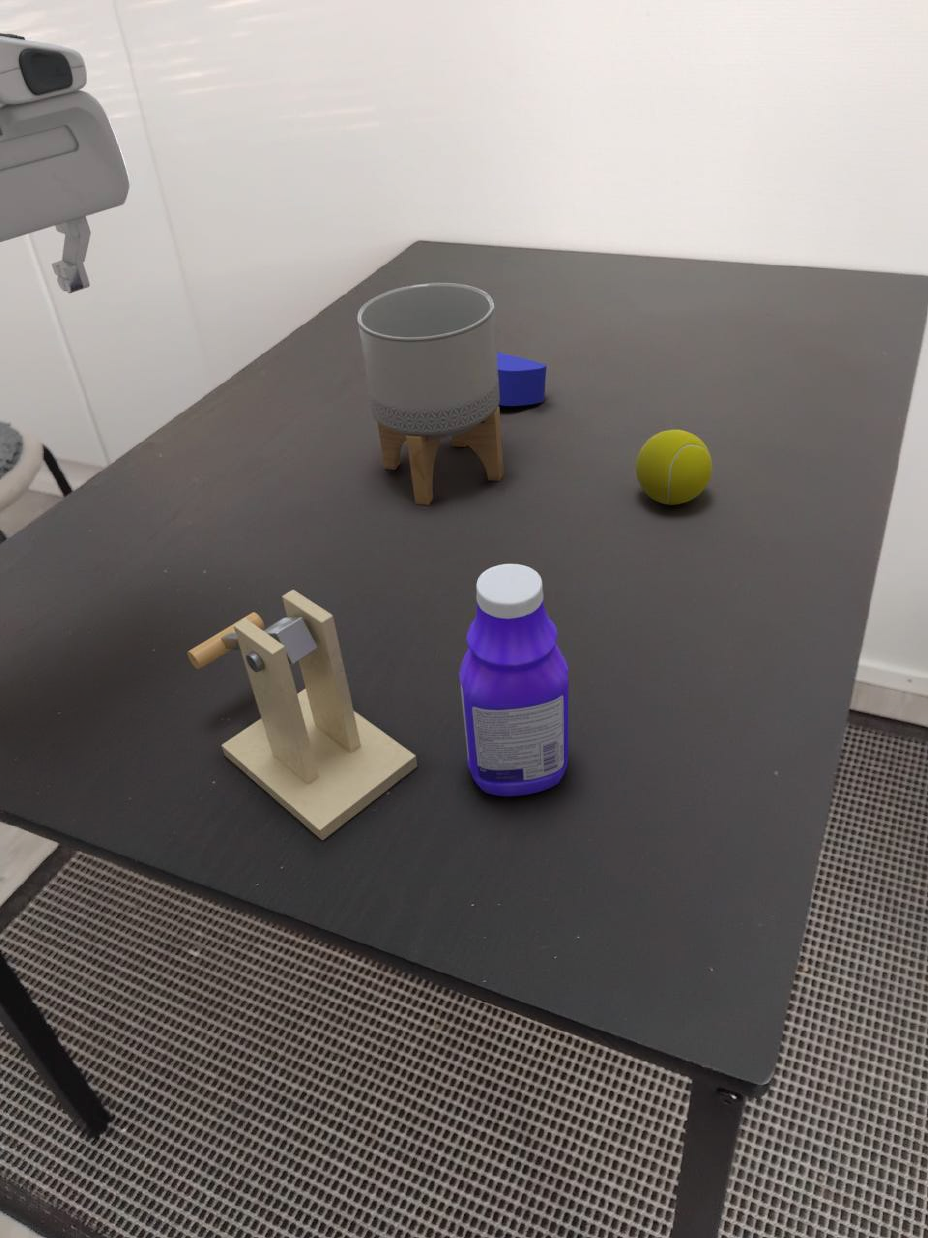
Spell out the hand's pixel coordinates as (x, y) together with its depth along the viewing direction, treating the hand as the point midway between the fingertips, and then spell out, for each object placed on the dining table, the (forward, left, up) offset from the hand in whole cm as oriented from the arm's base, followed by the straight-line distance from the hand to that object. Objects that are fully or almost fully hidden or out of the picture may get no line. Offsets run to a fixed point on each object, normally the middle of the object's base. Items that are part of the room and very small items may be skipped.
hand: (11, 311), depth 65 cm
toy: (+48, +22, -31) cm, 61 cm away
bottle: (+20, -29, -31) cm, 47 cm away
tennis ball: (+51, -7, -31) cm, 60 cm away
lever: (+7, -16, -22) cm, 28 cm away
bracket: (+8, -20, -31) cm, 38 cm away
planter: (+35, +11, -31) cm, 48 cm away
